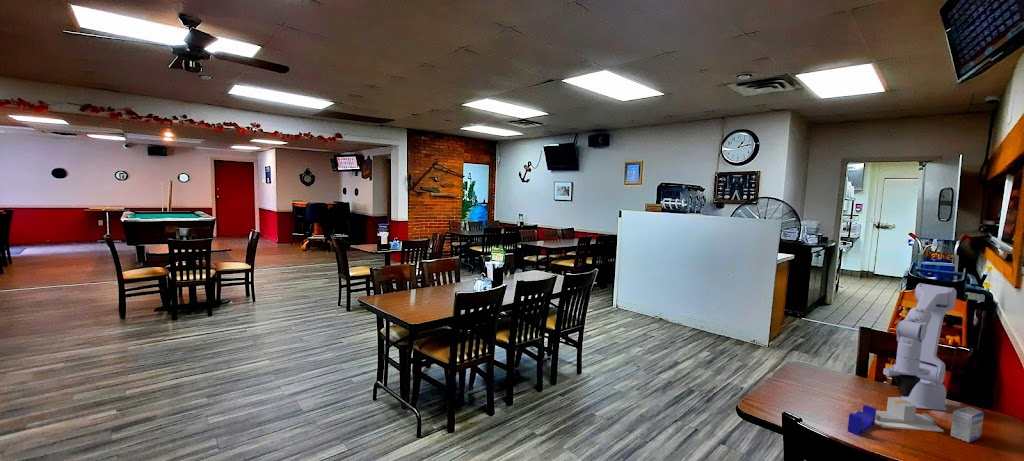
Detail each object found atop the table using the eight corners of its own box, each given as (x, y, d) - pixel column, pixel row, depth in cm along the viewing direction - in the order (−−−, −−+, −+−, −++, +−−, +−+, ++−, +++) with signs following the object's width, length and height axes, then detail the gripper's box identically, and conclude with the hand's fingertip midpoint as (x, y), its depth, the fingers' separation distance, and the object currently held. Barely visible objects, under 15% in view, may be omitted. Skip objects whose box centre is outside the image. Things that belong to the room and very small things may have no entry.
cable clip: (858, 419, 145) (859, 402, 145) (874, 425, 142) (876, 408, 141) (841, 429, 139) (843, 412, 139) (858, 436, 135) (860, 418, 135)
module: (897, 410, 147) (899, 396, 147) (914, 420, 141) (916, 405, 141) (886, 411, 147) (888, 397, 147) (903, 420, 141) (904, 406, 141)
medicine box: (968, 443, 132) (972, 417, 131) (949, 435, 136) (953, 410, 135) (981, 437, 135) (984, 411, 134) (961, 430, 139) (965, 405, 138)
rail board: (918, 415, 148) (919, 409, 148) (943, 432, 138) (944, 425, 138) (861, 411, 150) (862, 404, 150) (882, 427, 140) (882, 420, 140)
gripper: (916, 351, 146) (912, 389, 148) (876, 352, 145) (872, 390, 147) (938, 359, 139) (933, 399, 141) (896, 360, 138) (892, 400, 140)
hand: (903, 395), depth 143 cm, fingers closed
